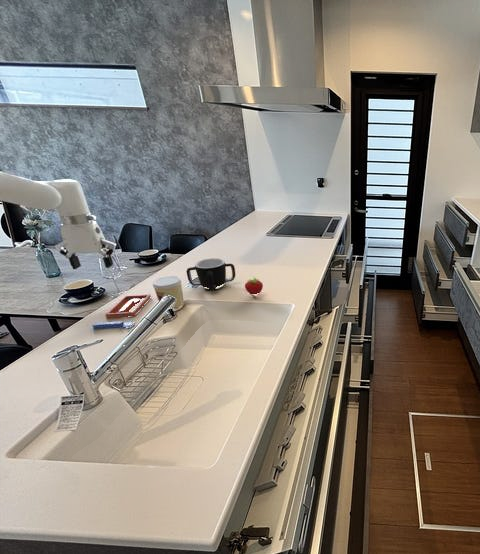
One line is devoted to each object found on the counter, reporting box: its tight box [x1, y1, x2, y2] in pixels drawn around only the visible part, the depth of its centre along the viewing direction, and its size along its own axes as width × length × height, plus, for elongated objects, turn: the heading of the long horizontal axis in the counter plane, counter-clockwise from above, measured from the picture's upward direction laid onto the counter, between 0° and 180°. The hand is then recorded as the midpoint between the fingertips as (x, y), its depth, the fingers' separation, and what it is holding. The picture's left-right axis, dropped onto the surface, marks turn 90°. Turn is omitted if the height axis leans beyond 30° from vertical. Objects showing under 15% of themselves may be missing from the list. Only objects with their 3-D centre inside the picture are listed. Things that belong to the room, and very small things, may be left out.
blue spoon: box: [91, 320, 135, 331], centre depth 109 cm, size 12×4×2 cm, turn 103°
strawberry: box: [244, 277, 264, 295], centre depth 133 cm, size 6×8×10 cm
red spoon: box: [119, 298, 140, 313], centre depth 120 cm, size 12×4×2 cm, turn 13°
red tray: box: [104, 294, 152, 320], centre depth 121 cm, size 9×15×2 cm, turn 13°
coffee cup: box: [152, 276, 185, 311], centre depth 121 cm, size 9×9×12 cm
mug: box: [186, 258, 236, 291], centre depth 140 cm, size 16×16×12 cm
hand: (93, 267), depth 107 cm, fingers open, 9 cm apart
